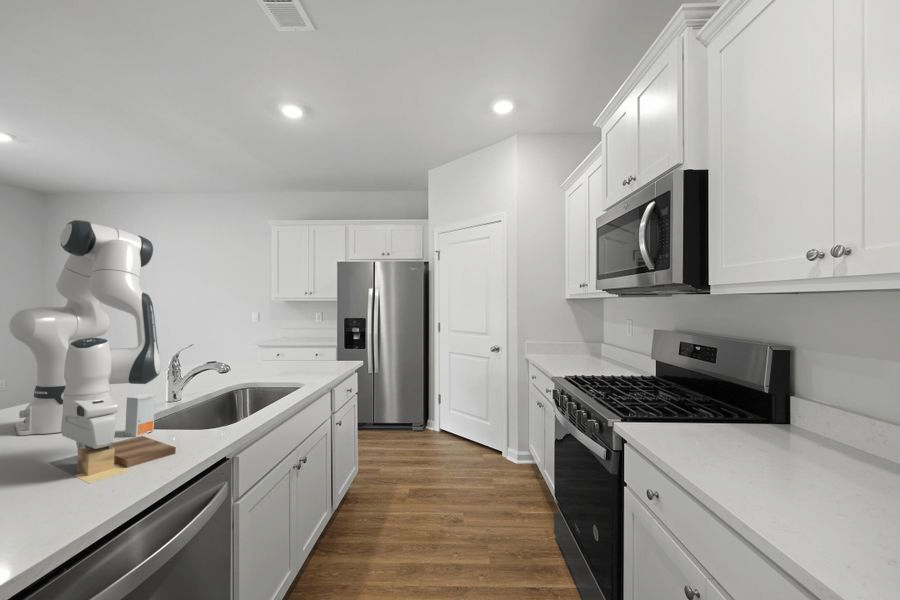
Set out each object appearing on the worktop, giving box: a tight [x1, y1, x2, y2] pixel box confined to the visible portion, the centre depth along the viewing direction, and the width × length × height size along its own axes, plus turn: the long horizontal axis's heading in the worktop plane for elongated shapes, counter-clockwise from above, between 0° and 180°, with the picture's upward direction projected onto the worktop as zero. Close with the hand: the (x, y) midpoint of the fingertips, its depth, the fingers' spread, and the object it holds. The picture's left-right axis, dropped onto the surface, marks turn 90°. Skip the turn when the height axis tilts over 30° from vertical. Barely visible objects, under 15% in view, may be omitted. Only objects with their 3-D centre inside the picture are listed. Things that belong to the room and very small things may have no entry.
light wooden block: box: [77, 444, 115, 476], centre depth 97 cm, size 6×5×6 cm
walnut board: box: [112, 435, 177, 469], centre depth 108 cm, size 18×11×2 cm, turn 62°
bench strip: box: [48, 454, 131, 484], centre depth 99 cm, size 23×8×1 cm, turn 62°
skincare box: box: [124, 393, 156, 438], centre depth 124 cm, size 6×4×12 cm
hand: (85, 459), depth 100 cm, fingers closed
